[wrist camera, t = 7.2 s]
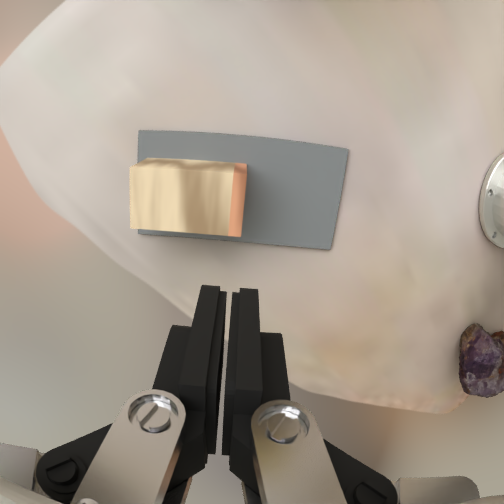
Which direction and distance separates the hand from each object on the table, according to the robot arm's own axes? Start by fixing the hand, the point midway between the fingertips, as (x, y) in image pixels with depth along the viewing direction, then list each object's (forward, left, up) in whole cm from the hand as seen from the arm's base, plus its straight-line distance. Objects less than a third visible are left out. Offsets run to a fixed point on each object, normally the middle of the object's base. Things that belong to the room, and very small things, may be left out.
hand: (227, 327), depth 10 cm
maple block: (-1, +1, -18) cm, 18 cm away
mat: (0, +1, -21) cm, 21 cm away
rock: (-37, +20, -22) cm, 47 cm away
